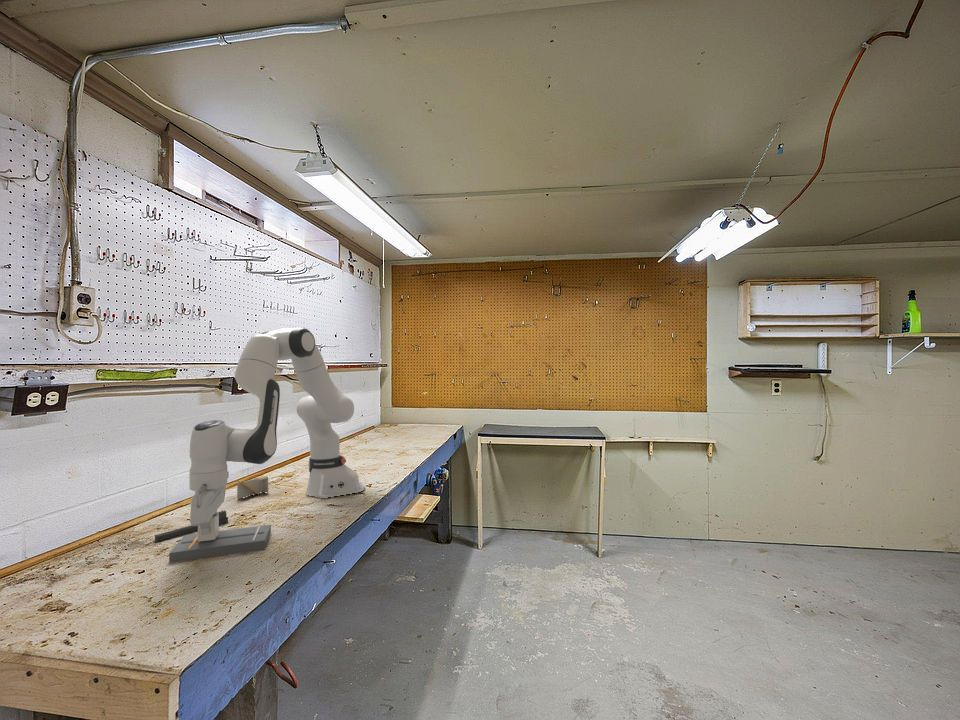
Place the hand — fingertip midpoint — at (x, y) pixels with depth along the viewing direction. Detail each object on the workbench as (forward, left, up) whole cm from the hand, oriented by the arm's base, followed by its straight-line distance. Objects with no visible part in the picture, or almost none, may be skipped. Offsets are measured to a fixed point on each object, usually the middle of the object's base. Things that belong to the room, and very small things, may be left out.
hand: (208, 530), depth 113 cm
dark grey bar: (+8, -16, -6) cm, 18 cm away
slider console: (-4, 0, -5) cm, 6 cm away
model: (-4, -48, -6) cm, 48 cm away
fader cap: (0, 0, -2) cm, 2 cm away
